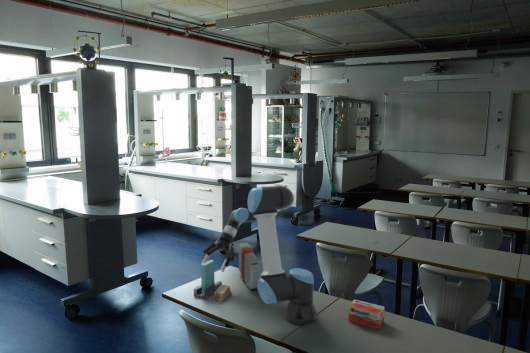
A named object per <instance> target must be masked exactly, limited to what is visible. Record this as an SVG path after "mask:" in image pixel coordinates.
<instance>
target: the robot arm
mask: <svg viewBox="0 0 530 353" xmlns="http://www.w3.org/2000/svg"><path fill="white" fill-rule="evenodd" d="M294 196H295V195H294V194H293V192H292V190H291V189H289V188H288V187H287V186H282V185H275V186H272V185H271V186H270V185H269V186H259V187H254V188H253V187H252V188H251V189H250V191H249V193H248V197H247V208H244V207H239V208H238V209H234V210H232V212H231V213H230V215H229V218H228V220H227V222H226V224H225V226H224V228H223V230H222V233H221V235H220V236H219V240H217V239H213V240H212V242H211V243H210V244H209V245H208V246H207V247H206V248H205V249H203V251H202V252H203V253H204V255H203V257H202V262H201V263H200V265H201V264H203V263H205V262H207V261H209V258H210V256H211V255H212V254H213V253H215V252H216V251H218V250H221V251H222V250H223V251H224V253H225V259H224V260H223V263H222V265H221V267H220V271H221V272H222V273H224V272H225V270H226V268H227V267H228V266H229V264H230V262H234V261H235V251H234V250H235V247H236V246H235V244H234V243H233V241H234V238H235V236H236V235H237V232H238V230H239V228H240V226H241V225H242V224H245V223H252V222H257V231H258V238H259V239H258V240H259V245H260V246H259V247H260V254H261V261H262V263H261V264H262V269H263V270H262V272H261V279H259V280H258V282H257V283H258V284H257V287H258V288H257V291H258V294H259V297H260V298H261V300H262V302H263V303H265V304H267V305H268V304H269V305H270V304H271V305H272V304H277V303H281V302H287V305H286V308H285V309H284V318H285V320H286V321H288V322H289V323H292V324H295V325H309V324H312V323H314V322H315V321H316V320H317V310H316V308H315V304H314V287H315V286H314V284H315V280H314V274H313V273H312V272H311V271H309V270H308V269H304V268H299V267H297V268H291V269H289V271H288V273H287V274H286V271H285V270H284V269H283V268H282V263H281V262H282V261H281V254H280V253H281V252H280V248H279V239H278V231H277V224H276V217H277V215H278V212H280V211H285V210H287V209H290V207H292V205H293V203H294V201H295V197H294Z"/></svg>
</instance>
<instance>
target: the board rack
mask: <svg viewBox="0 0 530 353" xmlns="http://www.w3.org/2000/svg"><path fill="white" fill-rule="evenodd" d="M214 283H215V284H213V285H211V286H210V287H208V288H206V289H205V290H203V291H202V285H201V284H200V285H198V286H196V287H194V288H193V296H194V297H197V298H200V299H204V300H206V299H207V298H209V297H211V296H213V295H214V292H215V291H216V290H217V289H218V288H219V287H220V286H221V285H223V281H221V280H219V281H216V282H214Z"/></svg>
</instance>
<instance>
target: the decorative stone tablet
mask: <svg viewBox="0 0 530 353" xmlns="http://www.w3.org/2000/svg"><path fill="white" fill-rule="evenodd" d="M238 271H239V272H240V276H241V279H242V281H243V282H244V283H245V284H246V286H247V288H249V290H255V289H257V290H258V287H257V284H258V283H257V282H258V280H259V279H261V273H262V272H261V271H262V270H261V268H260V263H259V260H258V258H257V256H256V255H255V251H254V249H253V248H251V247H250V245H249V243H248V242H240V243H239V244H238Z"/></svg>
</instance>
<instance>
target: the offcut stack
mask: <svg viewBox="0 0 530 353" xmlns="http://www.w3.org/2000/svg"><path fill="white" fill-rule="evenodd" d="M231 294H232V289H231V286H230V285H226V284H222V285H221V286H220V287H219V288H218V289H217V290H216V291H215V292H214V294H213V295H212V301H214V302H220V303H222V302H223V301H224V300H225V299H227V297H229V296H230V295H231Z"/></svg>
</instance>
